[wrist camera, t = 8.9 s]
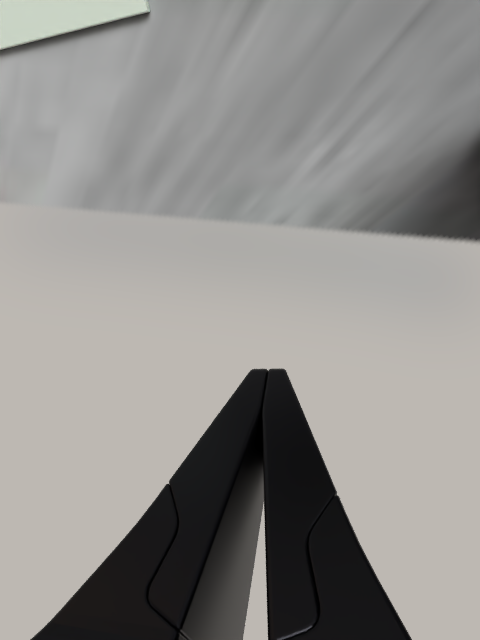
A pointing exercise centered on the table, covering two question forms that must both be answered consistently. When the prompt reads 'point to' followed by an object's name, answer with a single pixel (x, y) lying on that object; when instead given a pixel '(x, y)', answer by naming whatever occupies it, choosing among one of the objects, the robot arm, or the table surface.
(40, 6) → the mat
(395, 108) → the table surface
